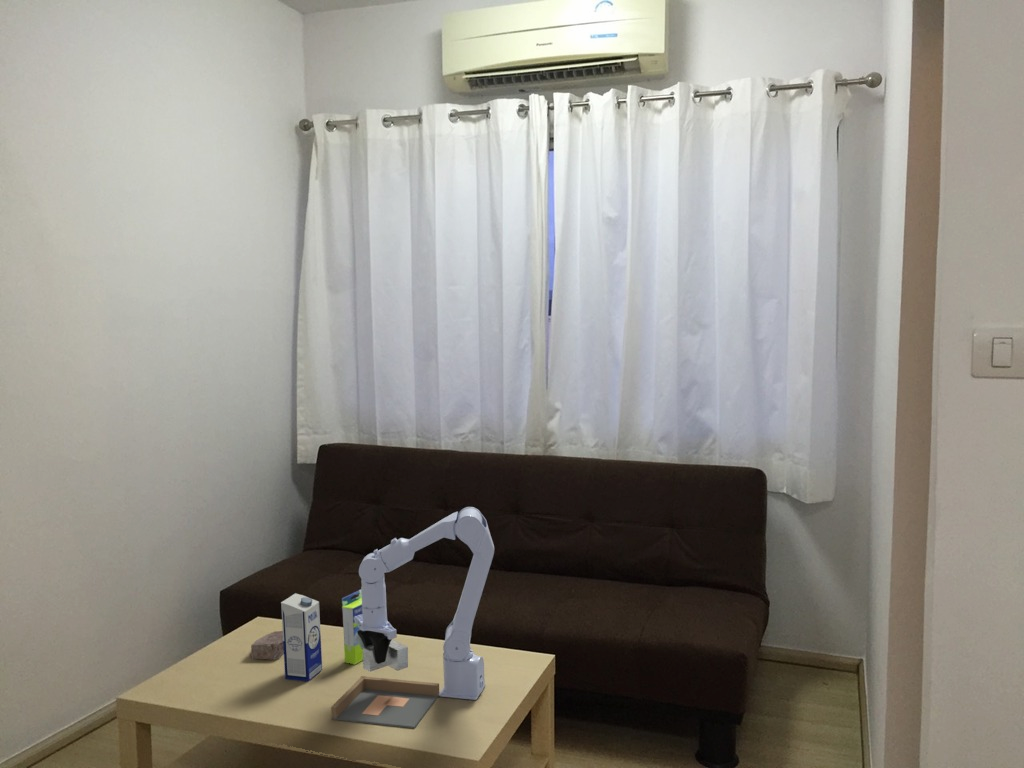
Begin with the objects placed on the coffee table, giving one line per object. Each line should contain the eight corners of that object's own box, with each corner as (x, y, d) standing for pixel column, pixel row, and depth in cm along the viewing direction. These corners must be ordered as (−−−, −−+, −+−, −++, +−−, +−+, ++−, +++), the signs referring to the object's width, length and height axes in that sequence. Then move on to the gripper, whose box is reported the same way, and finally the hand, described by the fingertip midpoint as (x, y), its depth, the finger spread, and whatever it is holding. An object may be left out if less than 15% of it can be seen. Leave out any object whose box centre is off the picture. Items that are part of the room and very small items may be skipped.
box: (355, 665, 212) (352, 601, 211) (342, 662, 214) (339, 598, 213) (380, 650, 221) (377, 588, 220) (368, 647, 223) (365, 586, 222)
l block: (390, 658, 200) (390, 638, 200) (407, 667, 195) (407, 646, 194) (363, 667, 194) (362, 647, 194) (380, 677, 189) (379, 656, 189)
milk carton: (299, 667, 212) (295, 592, 210) (322, 669, 210) (319, 594, 209) (284, 679, 205) (280, 601, 204) (308, 681, 204) (304, 603, 202)
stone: (264, 643, 229) (263, 627, 229) (295, 643, 228) (294, 627, 228) (248, 661, 217) (247, 644, 217) (281, 661, 217) (280, 644, 216)
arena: (439, 695, 194) (439, 683, 194) (414, 728, 179) (414, 715, 179) (362, 687, 199) (361, 676, 199) (331, 719, 184) (331, 707, 184)
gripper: (343, 602, 196) (345, 656, 198) (377, 617, 186) (380, 674, 187) (367, 594, 201) (370, 647, 202) (402, 608, 191) (405, 664, 192)
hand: (376, 660), depth 195 cm, fingers closed on l block, 3 cm apart
